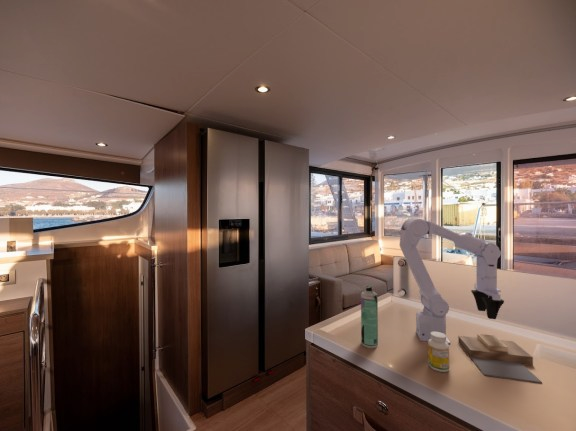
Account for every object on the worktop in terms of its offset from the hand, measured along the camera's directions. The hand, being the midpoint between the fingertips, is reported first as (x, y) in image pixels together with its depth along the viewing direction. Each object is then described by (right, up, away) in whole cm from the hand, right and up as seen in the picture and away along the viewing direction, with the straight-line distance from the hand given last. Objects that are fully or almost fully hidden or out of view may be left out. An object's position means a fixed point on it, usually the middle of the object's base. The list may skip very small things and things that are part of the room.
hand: (486, 314), depth 91 cm
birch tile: (-4, -7, -8) cm, 11 cm away
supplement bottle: (-26, -10, -16) cm, 32 cm away
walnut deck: (-4, -9, -8) cm, 13 cm away
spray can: (-42, -10, -2) cm, 43 cm away
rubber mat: (-8, -9, -17) cm, 21 cm away
